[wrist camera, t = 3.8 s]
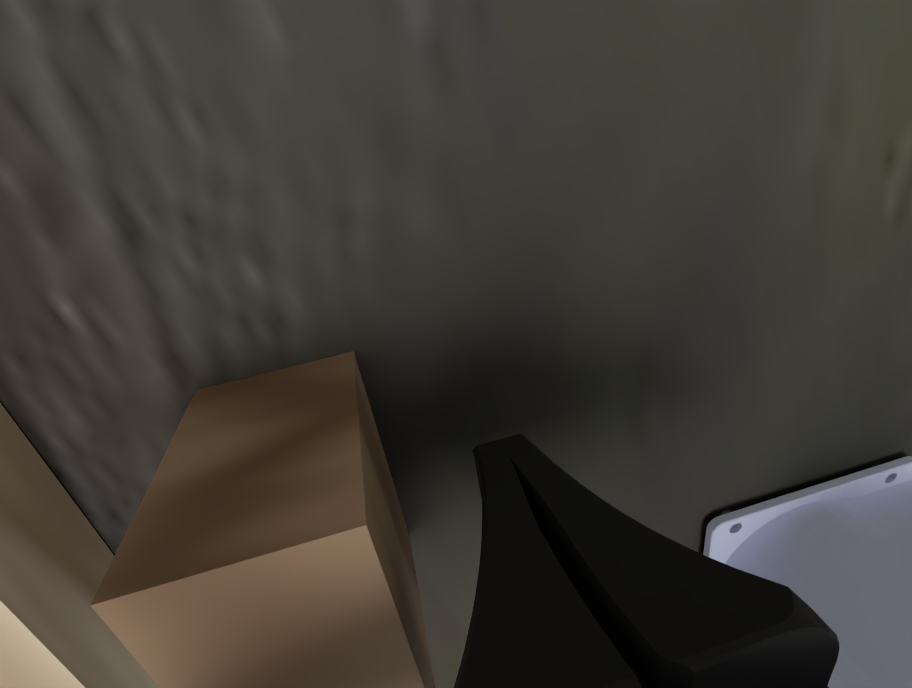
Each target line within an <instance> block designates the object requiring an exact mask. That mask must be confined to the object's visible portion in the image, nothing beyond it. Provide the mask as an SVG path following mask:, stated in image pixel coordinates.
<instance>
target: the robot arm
mask: <svg viewBox="0 0 912 688" xmlns="http://www.w3.org/2000/svg"><path fill="white" fill-rule="evenodd" d="M473 453H474V459H475V464H476V470H477V475H478V481H479V486H480V492H481V497H482V542H481V555H480V565H479V574H478V581H477V588H476V595H475V601H474V607H473V612H472V617H471V622H470V626H469V631H468V636H467V640H466V645H465V649H464V653H463V657H462V661H461V665H460V668H459V672H458V675H457V679H456V683H455V686H454V688H912V456H906V457H902V458H899V459H896V460H893V461H890V462H887V463H884V464H880V465H877V466H874V467H871V468H868V469H865V470H862V471H858V472H855V473H852V474H849V475H846V476H843V477H840V478H836V479H833V480H830V481H827V482H824V483H821V484H818V485H814V486H811V487H808V488H805V489H802V490H799V491H795V492H792V493H789V494H786V495H783V496H780V497H777V498H773V499H770V500H767V501H764V502H761V503H758V504H755V505H751V506H748V507H745V508H742V509H739V510H736V511H733V512H729V513H726V514H723V515H720V516H717V517H715V518H713V519H712V520H711V521H710V522H709V523H708V525H707V529H706V537H705V545H704V553H703V555H702V554H700V553H698V552H696V551H694V550H692V549H689V548H687V547H685V546H683V545H681V544H679V543H677V542H675V541H673V540H671V539H669V538H667V537H665V536H662V535H661V534H659V533H657V532H655V531H653V530H651V529H650V528H648V527H646V526H644V525H642V524H641V523H639V522H637V521H636V520H634V519H632V518H630V517H629V516H627V515H625V514H624V513H622V512H621V511H619V510H617V509H616V508H614V507H613V506H611V505H610V504H608V503H607V502H605V501H604V500H602V499H601V498H600V497H598V496H597V495H595V494H594V493H592V492H591V491H590V490H588V489H587V488H586V487H584V486H583V485H581V484H580V483H579V482H578V481H576V480H575V479H574V478H572V477H571V476H570V475H569V474H567V473H566V472H565V471H564V470H562V469H561V468H560V467H559V466H557V465H556V464H555V463H554V462H553V461H552V460H550V459H549V458H548V457H547V456H546V455H545V454H543V453H542V452H541V451H540V450H539V449H538V448H537V447H536V446H535V445H534V444H533V443H531V442H530V441H529V440H528V439H527V438H526V437H525V436H524V435H522V434H518V435H514V436H511V437H507V438H504V439H500V440H496V441H493V442H489V443H486V444H482V445H478V446H476V447H475V449H474V450H473Z"/></svg>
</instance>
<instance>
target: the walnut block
mask: <svg viewBox="0 0 912 688" xmlns="http://www.w3.org/2000/svg"><path fill="white" fill-rule="evenodd" d="M90 606H91V607H92V608H93V609H94V611H95V612H96V613H97V614H98V615H99V617H100V618H101V619H102V620H103V621H104V622H105V624H106V625H107V626H108V627H109V628H110V630H111V631H112V632H113V633H114V634H115V635H116V637H117V638H118V639H119V640H120V641H121V643H122V644H123V645H124V646H125V647H126V648H127V650H128V651H129V652H130V653H131V654H132V656H133V657H134V658H135V659H136V660H137V661H138V663H139V664H140V665H141V666H142V667H143V669H144V670H145V671H146V672H147V673H148V674H149V676H150V677H151V678H152V679H153V680H154V682H155V683H156V684H157V685H158V686H159V688H435V684H434V678H433V672H432V666H431V660H430V654H429V649H428V643H427V637H426V631H425V625H424V619H423V613H422V608H421V602H420V596H419V590H418V584H417V578H416V572H415V566H414V561H413V555H412V549H411V543H410V537H409V533H408V529H407V526H406V523H405V519H404V516H403V513H402V509H401V506H400V503H399V500H398V496H397V493H396V490H395V486H394V483H393V480H392V476H391V473H390V470H389V466H388V463H387V460H386V456H385V453H384V450H383V446H382V443H381V440H380V437H379V433H378V430H377V427H376V423H375V420H374V417H373V413H372V410H371V407H370V403H369V400H368V397H367V393H366V390H365V387H364V384H363V380H362V377H361V374H360V370H359V367H358V364H357V360H356V357H355V354H354V351H351V352H347V353H343V354H339V355H335V356H331V357H327V358H323V359H319V360H315V361H311V362H307V363H303V364H299V365H295V366H291V367H287V368H283V369H279V370H274V371H270V372H266V373H262V374H258V375H254V376H250V377H246V378H242V379H238V380H234V381H230V382H226V383H222V384H218V385H214V386H210V387H206V388H202V389H198V390H195V392H194V394H193V396H192V398H191V400H190V402H189V404H188V407H187V409H186V411H185V413H184V415H183V417H182V419H181V421H180V423H179V425H178V427H177V429H176V431H175V433H174V435H173V437H172V439H171V441H170V443H169V445H168V447H167V449H166V452H165V454H164V456H163V458H162V460H161V462H160V464H159V466H158V468H157V470H156V472H155V474H154V476H153V478H152V480H151V482H150V484H149V486H148V488H147V490H146V492H145V494H144V497H143V499H142V501H141V503H140V505H139V507H138V509H137V511H136V513H135V515H134V517H133V519H132V521H131V523H130V525H129V527H128V529H127V531H126V533H125V535H124V537H123V539H122V542H121V544H120V546H119V548H118V550H117V552H116V554H115V556H114V558H113V560H112V562H111V564H110V566H109V568H108V570H107V572H106V574H105V576H104V578H103V580H102V582H101V584H100V587H99V589H98V591H97V593H96V595H95V597H94V599H93V601H92V603H91V605H90Z"/></svg>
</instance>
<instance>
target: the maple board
mask: <svg viewBox="0 0 912 688" xmlns="http://www.w3.org/2000/svg"><path fill="white" fill-rule="evenodd" d="M113 558H114V555H113V553H112V552H111V551H110V549H109V548H108V547H107V545H106V544H105V543H104V541H103V540H102V539H101V537H100V536H99V535H98V533H97V532H96V531H95V529H94V528H93V527H92V525H91V524H90V523H89V521H88V520H87V519H86V517H85V516H84V514H83V513H82V512H81V510H80V509H79V508H78V506H77V505H76V504H75V502H74V501H73V500H72V498H71V497H70V496H69V494H68V493H67V492H66V490H65V489H64V488H63V486H62V485H61V484H60V482H59V481H58V480H57V478H56V477H55V476H54V474H53V473H52V471H51V470H50V469H49V467H48V466H47V465H46V463H45V462H44V461H43V459H42V458H41V457H40V455H39V454H38V453H37V451H36V450H35V449H34V447H33V446H32V445H31V443H30V442H29V441H28V439H27V438H26V437H25V435H24V434H23V433H22V431H21V430H20V429H19V427H18V426H17V424H16V423H15V422H14V420H13V419H12V418H11V416H10V415H9V414H8V412H7V411H6V410H5V408H4V407H3V406H2V404H1V403H0V688H159V686H158V685H157V684H156V683H155V682H154V680H153V679H152V678H151V677H150V676H149V674H148V673H147V672H146V671H145V670H144V669H143V667H142V666H141V665H140V664H139V663H138V661H137V660H136V659H135V658H134V657H133V656H132V654H131V653H130V652H129V651H128V650H127V648H126V647H125V646H124V645H123V644H122V643H121V641H120V640H119V639H118V638H117V637H116V635H115V634H114V633H113V632H112V631H111V630H110V628H109V627H108V626H107V625H106V624H105V622H104V621H103V620H102V619H101V618H100V617H99V615H98V614H97V613H96V612H95V611H94V609H93V608H92V607H91V606H90V605H91V603H92V601H93V599H94V597H95V595H96V593H97V591H98V589H99V587H100V584H101V582H102V580H103V578H104V576H105V574H106V572H107V570H108V568H109V566H110V564H111V562H112V560H113Z"/></svg>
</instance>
